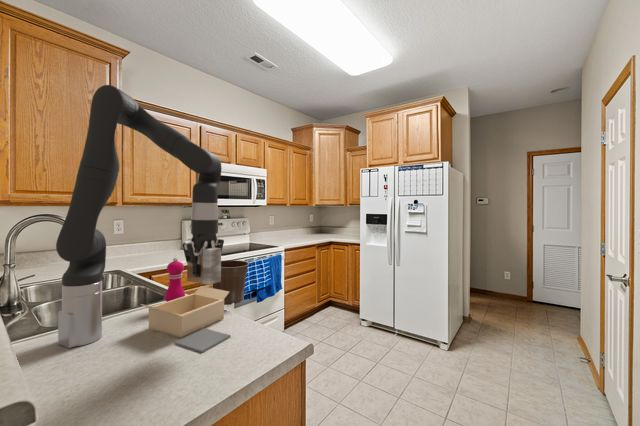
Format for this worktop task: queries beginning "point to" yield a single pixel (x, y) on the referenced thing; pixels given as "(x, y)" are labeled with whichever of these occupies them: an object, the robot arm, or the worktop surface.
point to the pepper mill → (174, 281)
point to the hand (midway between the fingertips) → (204, 274)
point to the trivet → (202, 340)
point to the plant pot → (232, 280)
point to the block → (207, 267)
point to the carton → (188, 312)
